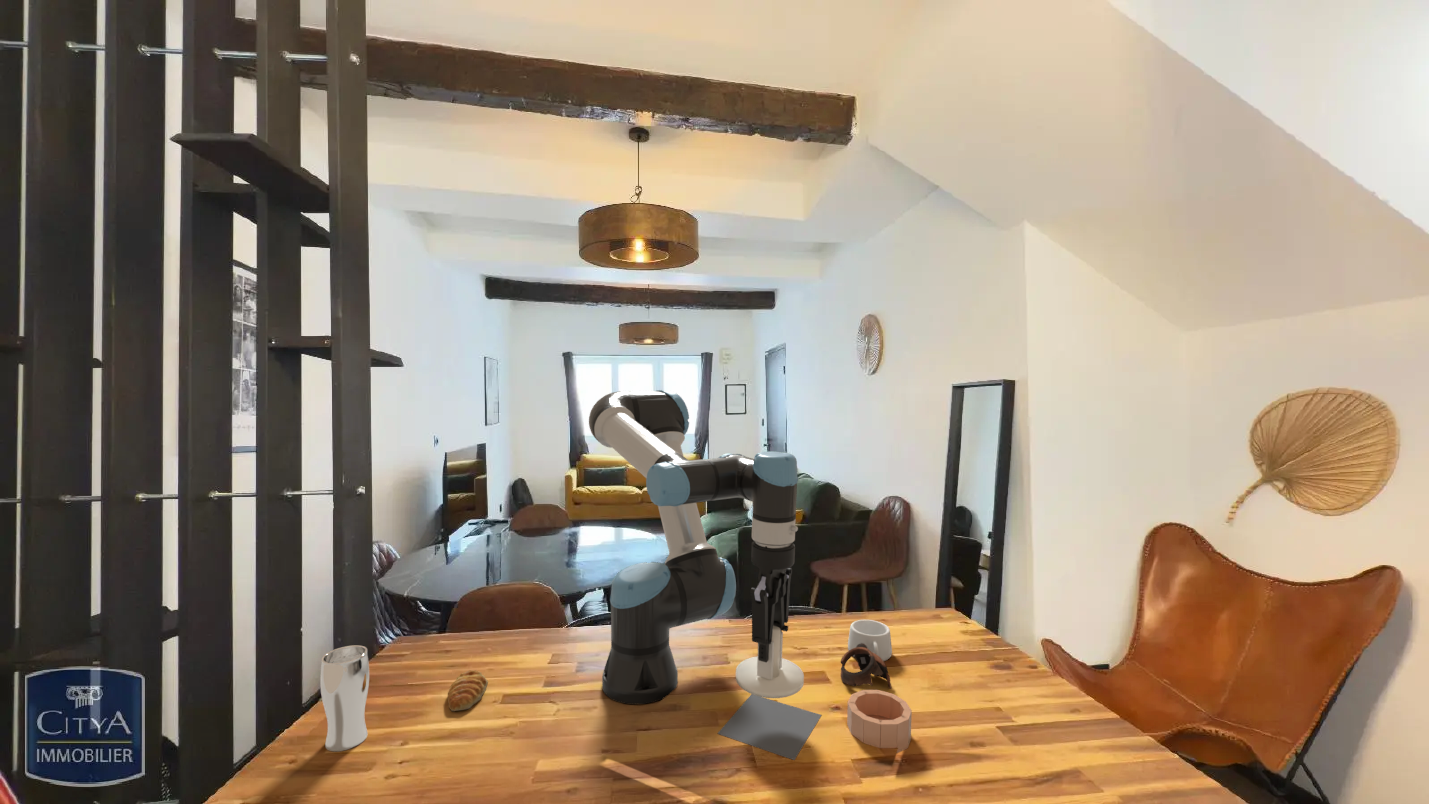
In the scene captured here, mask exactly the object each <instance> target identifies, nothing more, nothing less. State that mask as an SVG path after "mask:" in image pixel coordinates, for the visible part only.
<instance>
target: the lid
mask: <svg viewBox="0 0 1429 804" xmlns="http://www.w3.org/2000/svg"><path fill="white" fill-rule="evenodd" d="M780 634H781V629H780V628H779V627H777V626H775V625H773V632H772V641H774V662H773V679H772V680H770V679H767V678H763V677H760V676H757V658H758V655H757V656H752V657H750V658H746V659H744V660H741V662H739V664H738V665H737V666H736V668H735V681H736V683H737V685H738V686H739V687H740V688H741V689H742V690H743V691H745V692H747V693H748V694H750V695H751V694H753V695H756V696H759V697H763V698H767V699H781V698H789V697H791V696H793V695H796V694H797V693H798V692H800V690H802V688H803V687H804V683H805V675H804V672H803V670H802V668H801V667H800V666H799V665H797V664H796V663H794V662H793V661H791V660H789V659H786V658H784V657H782V668H781V669H779V666H780Z"/></svg>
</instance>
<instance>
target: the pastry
mask: <svg viewBox="0 0 1429 804" xmlns="http://www.w3.org/2000/svg"><path fill="white" fill-rule="evenodd" d="M488 684H489V681H488V679H487V678H486V676H485V675H483V674H482V672H481V671H479V670H477V669H476V670H474V669H472V670H468V671H466V672H462V673H460V674H459V675H458V676H457V677H456V679H455V680H454V681H453V682H452V683H451V685H450V686H449V690H448V691H447V700H448V708H449V709H450V710H451V712H455V711H463V710H469V709H471V708H472V707H473V706H474V705H475V704H476V703H478V702H479V701H480V700H481V699H482V696H483V695H484V694H485V691H486V690H487V689H486V688H487V686H488Z"/></svg>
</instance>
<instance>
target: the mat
mask: <svg viewBox="0 0 1429 804" xmlns="http://www.w3.org/2000/svg"><path fill="white" fill-rule="evenodd" d="M822 716H823V715H822V714H819V713H817V712H813V711H809V710H807V709H804V708H803V709H802V708H799V707H797V706H793V705H789V704H786V703H783V702H780V701H776V700H773V699H771V698H765V697H759V696H756V695H753V694H751V693H750V695H749V696H748V698H746V700H745V701H744V702H743V703H742V705H741V706H740V707H738V709H737V710H736V711H735V713H734V714H733V715H732V716H731V717H730V719H729V720H727V722H726V723H725V724H724V725H723V727H721V729H720V730H719V731H718V732H717V735H720V736H723V737H726V738H728V739H731V740H735V741H738V742H740V743H743V744H746V745H748V746H751V747H754V748H758V749H760V750H763V751H766V752H769V753H772V754H775V755H778V756H780V757H784V758H787V759H790V760H793V761H795V760H796V759H797V757H798V755H799V754H800V751H801V750H802V748H803V747H804V745H805V744H806V742H807V740H808V739H809V737H810V735H811V734H812V732H813V731H814V729H815V727H816V726H817V724H818V722H819V720H820V718H821V717H822Z"/></svg>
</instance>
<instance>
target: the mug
mask: <svg viewBox="0 0 1429 804" xmlns="http://www.w3.org/2000/svg"><path fill="white" fill-rule="evenodd" d="M861 643H864V644H865V645H866V646H867V649H869V650H870V651H871V652H873V653H875V654H876V655H878V656H879V657H880V658H881V659H882V660H883V661H884V662H885V661H888V659H890V658H891V657H892V654H893V647H892V637H891V630H890V627H889V626H888V625H886V624H885V623H882V622H880V621H877V620H873V619H859V620H855V621H853V622H852V623H851V624H850V627H849V634H848V639H847V650H848V651H849V650H851V649H853V648H856V646H857V645H858V644H861ZM869 656H870V655H869Z"/></svg>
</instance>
